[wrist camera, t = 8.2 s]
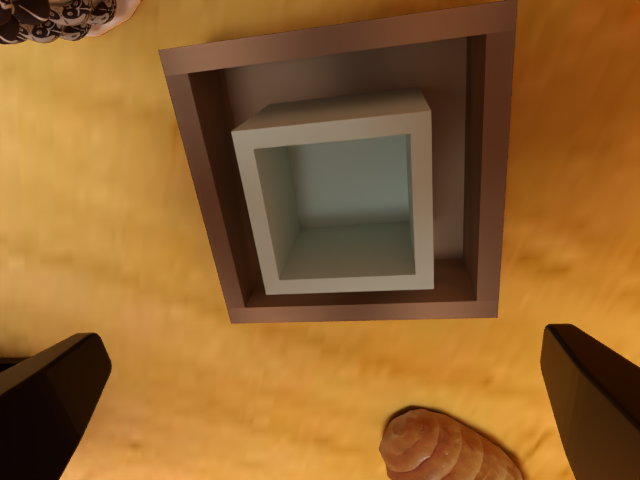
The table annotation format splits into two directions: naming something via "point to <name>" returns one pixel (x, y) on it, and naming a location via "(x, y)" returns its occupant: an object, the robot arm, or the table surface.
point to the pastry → (441, 450)
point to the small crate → (341, 192)
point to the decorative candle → (60, 19)
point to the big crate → (347, 79)
